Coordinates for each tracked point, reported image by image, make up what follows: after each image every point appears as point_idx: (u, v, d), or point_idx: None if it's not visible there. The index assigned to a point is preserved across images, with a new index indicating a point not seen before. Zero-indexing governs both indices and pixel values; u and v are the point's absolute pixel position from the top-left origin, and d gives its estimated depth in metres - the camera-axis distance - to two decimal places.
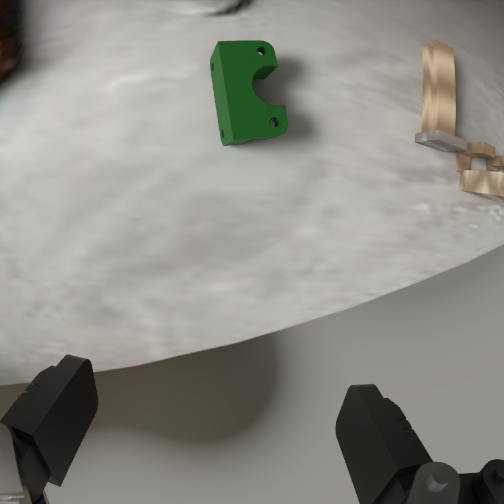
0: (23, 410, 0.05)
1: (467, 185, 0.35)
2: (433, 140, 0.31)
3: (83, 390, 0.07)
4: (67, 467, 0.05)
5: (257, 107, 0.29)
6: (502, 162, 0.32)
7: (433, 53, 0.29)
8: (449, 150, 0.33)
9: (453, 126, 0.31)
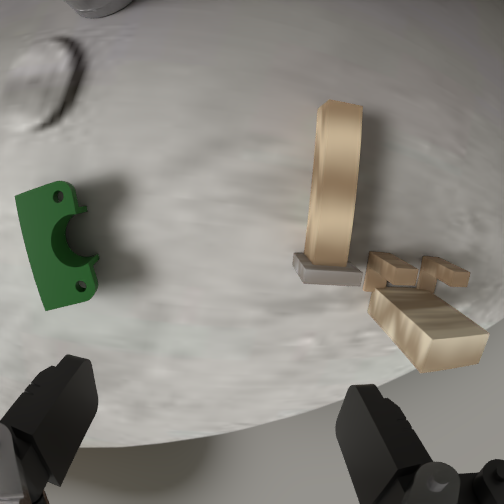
0: (23, 410, 0.05)
1: (375, 312, 0.30)
2: None
3: (83, 390, 0.07)
4: (67, 467, 0.05)
5: (60, 272, 0.24)
6: (439, 274, 0.27)
7: (324, 122, 0.24)
8: None
9: (345, 247, 0.26)
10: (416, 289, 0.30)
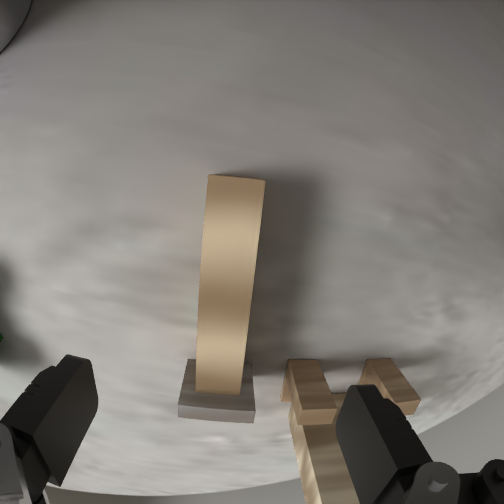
0: (23, 410, 0.05)
1: (292, 425, 0.23)
2: None
3: (83, 390, 0.07)
4: (67, 467, 0.05)
5: None
6: None
7: None
8: None
9: (236, 376, 0.19)
10: None
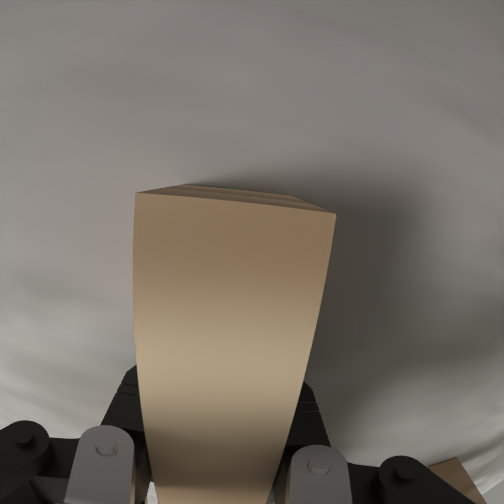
0: (131, 410, 0.06)
1: None
2: None
3: None
4: None
5: None
6: None
7: None
8: None
9: None
10: None
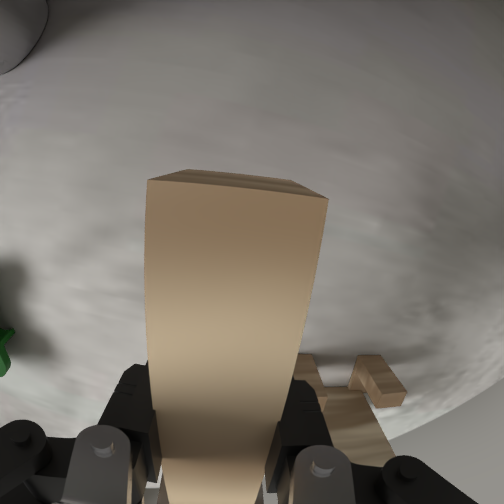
0: (128, 410, 0.06)
1: None
2: None
3: None
4: (160, 462, 0.07)
5: None
6: (368, 387, 0.23)
7: None
8: None
9: None
10: (345, 391, 0.26)
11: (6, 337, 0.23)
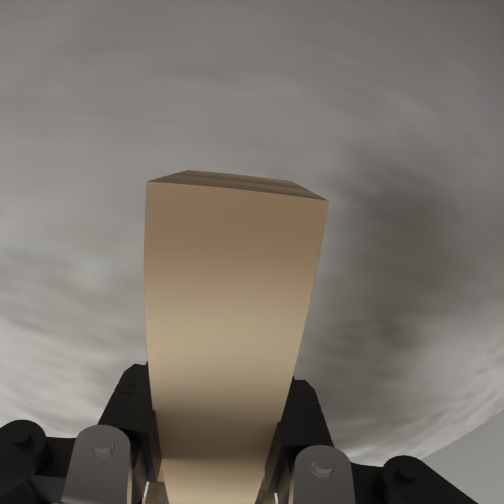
0: (128, 410, 0.06)
1: None
2: None
3: None
4: (160, 462, 0.07)
5: None
6: None
7: None
8: None
9: None
10: None
11: None
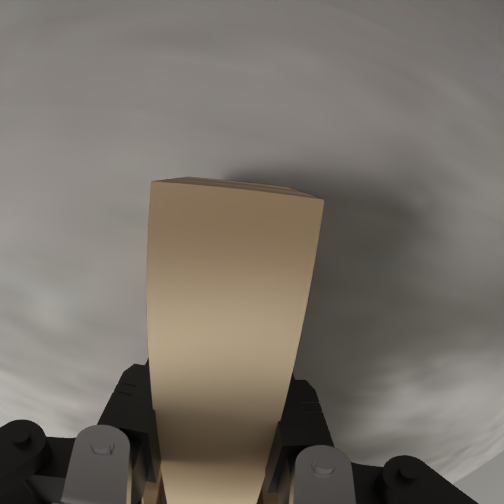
0: (128, 410, 0.06)
1: None
2: None
3: None
4: (160, 462, 0.07)
5: None
6: None
7: None
8: None
9: None
10: None
11: None
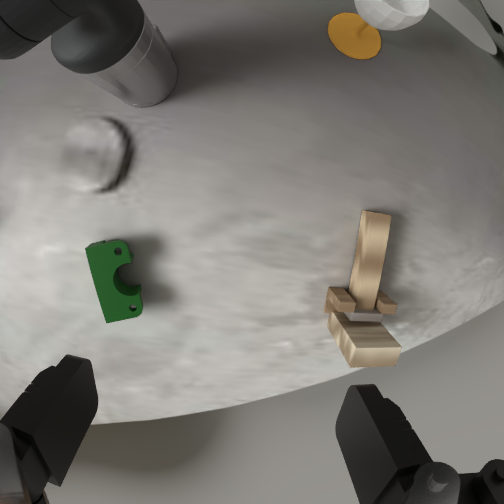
0: (23, 410, 0.05)
1: (331, 326, 0.46)
2: None
3: (83, 390, 0.07)
4: (67, 467, 0.05)
5: (119, 299, 0.40)
6: (375, 304, 0.43)
7: (368, 225, 0.41)
8: None
9: (373, 299, 0.42)
10: None
11: (139, 289, 0.43)
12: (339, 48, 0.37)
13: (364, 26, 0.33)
